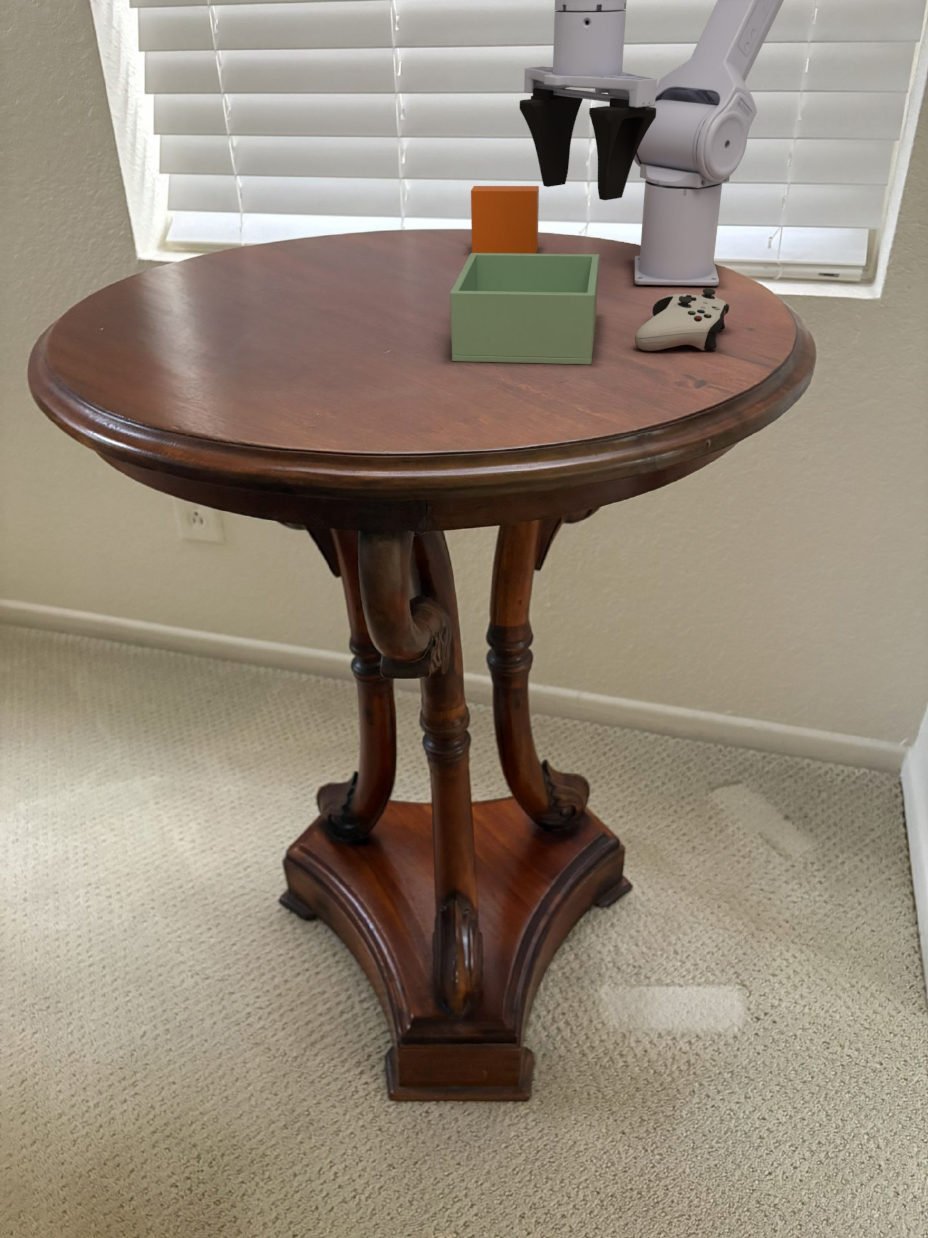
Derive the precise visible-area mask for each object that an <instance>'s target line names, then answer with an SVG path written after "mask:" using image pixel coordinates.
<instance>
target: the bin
mask: <svg viewBox="0 0 928 1238" xmlns="http://www.w3.org/2000/svg"><path fill="white" fill-rule="evenodd" d="M599 264H600V254H598V253H536V254H522V253H472V252H471V253H469V255H468V258H467V260H466V262H465V264H464V265H463V267H462V269H461V271H460V272H459V275H458V277H457V279H456V281H455V282H454V285H453V287H452V288H451V290H450V292H449V305H450V307H449V309H450V337H451V338H450V339H451V361H452V362H468V363H469V362H471V363H473V362H475V363H508V364H509V363H511V364H512V363H514V364H515V363H516V364H552V365H553V364H555V365H557V364H558V365H592V363H593V351H594V344H595V343H594V342H595V333H596V332H595V331H596V322H597V310H598V309H597V308H598V307H597V306H598V286H599Z"/></svg>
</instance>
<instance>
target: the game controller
mask: <svg viewBox="0 0 928 1238" xmlns="http://www.w3.org/2000/svg"><path fill="white" fill-rule="evenodd" d="M715 294H716V290H715V289H713V288H709V287H708V288H703V289H702V293H700V294H692V293H672V294H668V295H665V296H663V297H661V298H659V299H658V300H657V301H656V302H655V303H654V304H653V307H652V317H651V318H650V319H649V320H647V321H646V322H644V324H642V325H641V326H640V328H638V330H636V333H635V336H634V342H635V345H636V347H637V348H638V349H640V350H642V351H646V352H652V351H661V350H665V349H670V348H675V347H678V346H685V345H687V346H688V345H689V346H692V347H695V348H697V349H699V350H700V351H706V350H707V349H708V350H713V349H717V347H718V346H717V333H718V332H719V331H721V330H725V329H726V324H725V315H728V313H729V311H730V305H729V304H728V303H726V301H725V300H724V299H721V298H718V297H717V296H716V295H715Z"/></svg>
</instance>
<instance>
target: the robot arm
mask: <svg viewBox="0 0 928 1238" xmlns="http://www.w3.org/2000/svg"><path fill="white" fill-rule="evenodd" d="M627 1H628V0H554V20H553V53H552V55H553V56H552V66H531V67H530V66H529V67H525V68H524V79H523V80H524V83H523V85H524V87H523V89H524V91H523V92H524V93H526V94H532V95H531V96H530V98H529V99H528V98H527V99H521V100H519V111H520V113H521V114H522V116H523V118H524V120H525V122H526V124H527V127H528V129H529V132H530V135H531V137H532V140H533V144H534V147H535V152H536V156H537V160H538V165H539V171H540V175H541V181H542V185H543V187H546V188H549V187H557V186H564V185H566V182H567V179H568V173H569V165H570V153H571V144H572V139H573V134H574V133H573V132H574V128H575V124H576V120H577V117H578V114H579V111H580V107H581V105H582V102H583V100H591V101H598V102H604V103H609V105H605V106H594V107H589V109H588V115H589V118H590V120H591V125H592V128H593V133H594V138H595V144H596V153H597V193H598V199H599V200H602V201H611V200H616V199H621V198H623V195H624V191H625V189H626V185H627V181H628V179H629V175H630V171H631V170H632V169H631V168H632V165H633V163H635V164H636V165H637V166H638V167H640V169H639V178H641V179H645V182H644V193H643V206H642V207H643V208H642V219H641V220H642V221H641V234H640V235H641V237H640V249H639V250H640V251H639V255H635V256H634V284H635V285H638V286H699V287H700V286H702V287H703V286H705V287H707V286H708V287H716V286H719V284H720V279H719V275H718V270H717V267H716V262H715V253H716V244H717V235H718V226H719V217H720V207H721V198H722V189H723V183H729V182H730V178H731V176H732V174H733V173H734V172H735V171H736V170H737V168H738V167H739V165H740V163H741V161H742V159H743V157H744V155H745V151H746V148H747V143H748V137H749V132H750V129H751V126H752V123H753V121H754V119H755V117H756V115H757V113H758V110H757V109H758V108H757V106H756V104H755V103H756V102H755V100H754V98H753V96H752V93H751V92H750V89H749V88H748V86H747V85H746V83H745V82H746V80H747V78H748V76H749V74H750V71H751V70H752V68H753V66H754V64H755V61H756V60H757V58H758V55H759V53H760V51H761V49H762V47H763V45H764V43H765V41H766V38H767V36H768V35H769V33H770V31H771V28H772V27H773V24H774V22H775V20H776V17H777V15H778V13H779V11H780V9H781V7H782V6H783V2H784V1H785V0H717V1H716V3H715V5H714V7H713V9H712V11H711V13H710V15H709V17H708V20H707V22H706V24H705V27H704V28H703V31H702V33H701V35H700V37H699V39H698V41H697V43H696V45H695V48H694V49H693V53H692V54H691V56H690V58H689V59H688V60H687V61H685V62H684V63H683V64H681V65H679V66H677V67H675V68H674V69H673V70H672V71H670V72H669V73H666V75H664V76H662V77H661V78H660V79H659V82H658V78H657V77H649V76H648V77H647V76H643V75H639V74H634V73H630V72H625V71H623V62H624V49H625V48H624V47H625V34H626V33H625V31H626V16H627ZM572 88H574V89H572ZM575 88H579V89H594V91H587V90H579V89H575Z"/></svg>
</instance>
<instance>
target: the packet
mask: <svg viewBox="0 0 928 1238" xmlns="http://www.w3.org/2000/svg"><path fill="white" fill-rule="evenodd" d="M539 197H540V186H539V185H474V186H473V187H472V188H471V190H470V206H471V208H470V217H471V219H470V220H471V253H522V254H538V249H539V207H540V206H539V204H540V203H539V202H540V200H539V199H540V198H539Z"/></svg>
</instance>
